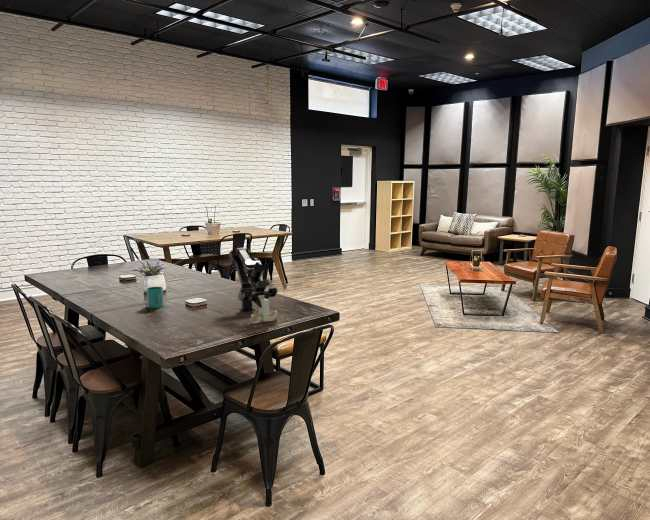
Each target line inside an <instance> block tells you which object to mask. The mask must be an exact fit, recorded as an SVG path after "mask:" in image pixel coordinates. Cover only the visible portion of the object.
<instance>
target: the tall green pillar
mask: <svg viewBox="0 0 650 520" xmlns="http://www.w3.org/2000/svg"><path fill="white" fill-rule="evenodd" d="M259 300H260V303H261V306H262V308H260V307H259V306H258V313H259V314H261V317H263V321H267V322H270V321H269V312H270V300H269V298H268V299H266V298H264V296H263V297H259Z"/></svg>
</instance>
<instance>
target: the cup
mask: <svg viewBox="0 0 650 520" xmlns="http://www.w3.org/2000/svg"><path fill="white" fill-rule="evenodd" d="M146 299H147V300H146V302H147V303H146V304H147V308H149V309H160V308H163V307H164V306H165V305H164V304H165V303H164V302H165V301H164V287H162V286H150V287H147V288H146Z"/></svg>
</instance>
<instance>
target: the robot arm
mask: <svg viewBox="0 0 650 520" xmlns="http://www.w3.org/2000/svg"><path fill="white" fill-rule="evenodd" d="M228 256H229V259H230V262H231V263H232V264H234V265H235V268H236V271H237V272H236V273H237V275H238V279H239V284H240V288H239V293H238V295H237V298H238V301H240V302H241V308H239V311H243V312H245V313H246V312H250V311H253V310H254V311H255V309H256V308H253V303H254V304H256V305H257V306H258V308H259V307H260V308H262V306H261V303H260V300H259V298H260V296H263V297H264V298H266V299H268V300H269V298H274V297H276V296H277V293H278V288H277V287H269V288H268V290H266V289H267V287H268V286H270V285H271V282H270V280H269V279H268V278H267V279H264V280H262V279H261V278H262V276H263V274H264V271H265V266H264V265H263V264H261V263H260V262H258V261H257V262H256V261H255V260H252V259H251V258H250V255H249V254H248V253H247V250H246V248H245V247H237V248H235V249H231V250H230V251H229V252H228Z"/></svg>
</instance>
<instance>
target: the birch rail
mask: <svg viewBox="0 0 650 520" xmlns="http://www.w3.org/2000/svg"><path fill="white" fill-rule="evenodd" d="M273 321H278V311H277V310H272V311H269V321H263V317H261V314H259V312H257V313H251V314H250V322H251V324H260V323H266V322H273Z"/></svg>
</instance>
